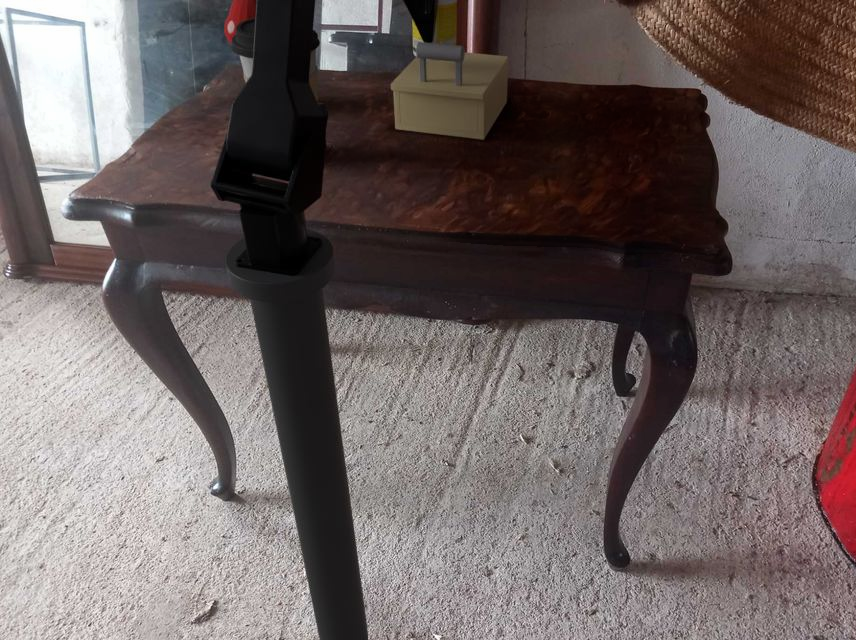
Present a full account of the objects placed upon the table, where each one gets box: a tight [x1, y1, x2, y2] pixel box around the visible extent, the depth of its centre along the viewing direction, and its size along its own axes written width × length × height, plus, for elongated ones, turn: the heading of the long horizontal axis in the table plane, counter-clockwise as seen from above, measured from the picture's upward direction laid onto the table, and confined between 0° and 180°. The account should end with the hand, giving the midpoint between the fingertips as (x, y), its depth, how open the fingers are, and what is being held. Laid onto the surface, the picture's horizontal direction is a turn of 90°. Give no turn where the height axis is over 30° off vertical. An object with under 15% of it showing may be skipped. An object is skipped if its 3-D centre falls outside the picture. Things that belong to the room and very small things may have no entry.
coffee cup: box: [230, 17, 321, 102], centre depth 89 cm, size 9×9×15 cm
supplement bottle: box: [411, 0, 458, 61], centre depth 96 cm, size 5×5×10 cm
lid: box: [390, 42, 509, 100], centre depth 99 cm, size 13×12×5 cm
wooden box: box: [392, 62, 509, 141], centre depth 102 cm, size 13×12×5 cm
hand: (435, 35), depth 97 cm, fingers closed on supplement bottle, 5 cm apart
